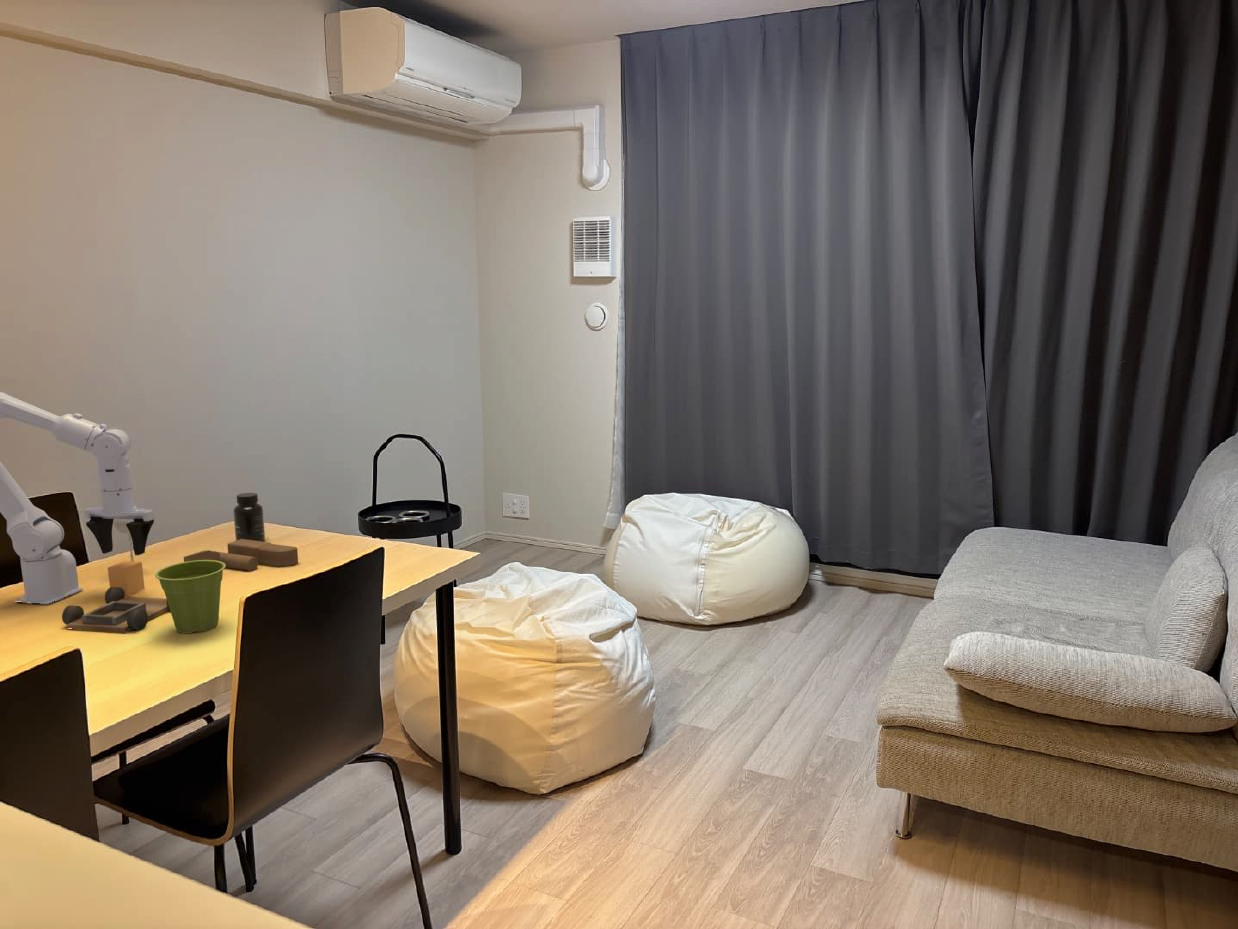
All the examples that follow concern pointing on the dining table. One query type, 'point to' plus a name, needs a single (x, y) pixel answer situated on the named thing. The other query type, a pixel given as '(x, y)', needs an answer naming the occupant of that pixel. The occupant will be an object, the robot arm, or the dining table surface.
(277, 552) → the wooden block set
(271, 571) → the dining table surface
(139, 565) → the tan wooden cube
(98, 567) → the dining table surface
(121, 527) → the lollipop
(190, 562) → the plant pot
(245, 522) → the supplement bottle
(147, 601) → the chassis board
